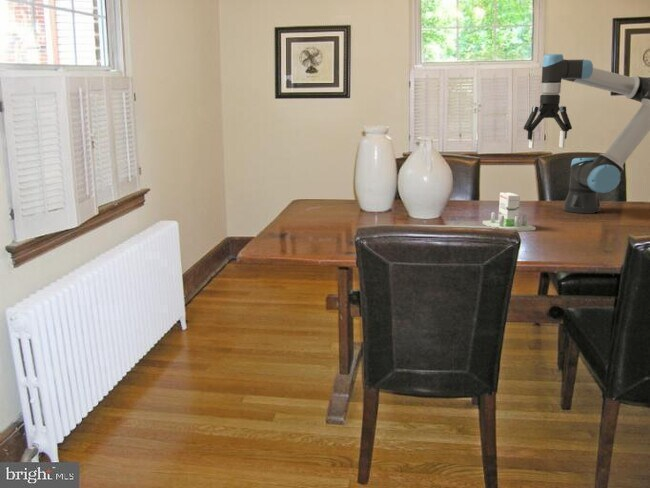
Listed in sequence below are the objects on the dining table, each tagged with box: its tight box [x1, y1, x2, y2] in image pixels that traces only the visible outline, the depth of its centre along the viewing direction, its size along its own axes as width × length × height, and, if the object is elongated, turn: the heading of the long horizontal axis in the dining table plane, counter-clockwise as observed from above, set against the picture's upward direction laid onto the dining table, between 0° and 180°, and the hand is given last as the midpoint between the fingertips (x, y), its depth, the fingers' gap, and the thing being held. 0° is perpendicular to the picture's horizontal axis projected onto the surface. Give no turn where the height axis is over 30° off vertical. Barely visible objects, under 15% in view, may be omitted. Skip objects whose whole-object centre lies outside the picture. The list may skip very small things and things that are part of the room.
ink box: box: [497, 191, 521, 226], centre depth 270 cm, size 9×5×12 cm, turn 9°
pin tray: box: [482, 211, 536, 232], centre depth 271 cm, size 14×16×5 cm
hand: (546, 147), depth 285 cm, fingers open, 13 cm apart
